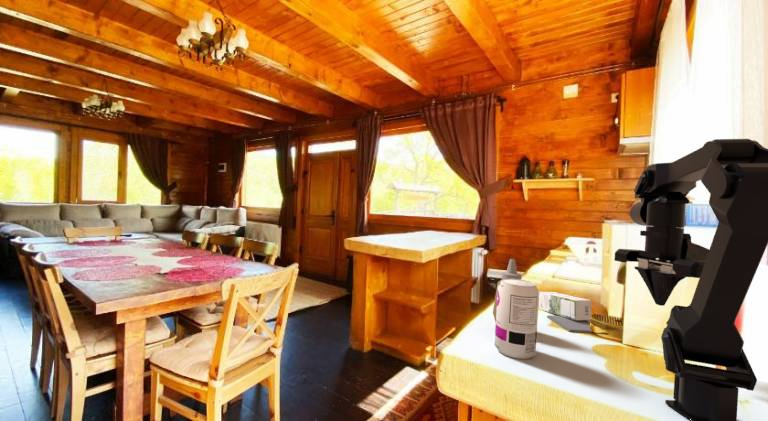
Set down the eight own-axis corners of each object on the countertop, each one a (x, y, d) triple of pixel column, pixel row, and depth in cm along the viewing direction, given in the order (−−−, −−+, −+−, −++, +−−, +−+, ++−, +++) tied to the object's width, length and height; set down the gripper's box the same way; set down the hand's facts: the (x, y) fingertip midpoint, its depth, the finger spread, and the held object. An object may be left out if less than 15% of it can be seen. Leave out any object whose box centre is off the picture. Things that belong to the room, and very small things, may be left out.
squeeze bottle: (485, 325, 84) (489, 257, 84) (507, 322, 88) (511, 256, 88) (509, 336, 77) (513, 262, 77) (532, 333, 81) (536, 261, 80)
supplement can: (487, 350, 69) (491, 280, 69) (504, 340, 75) (508, 276, 75) (526, 364, 63) (530, 288, 63) (541, 353, 69) (545, 283, 69)
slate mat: (607, 333, 83) (607, 331, 83) (569, 331, 83) (569, 329, 83) (580, 319, 94) (580, 317, 94) (547, 317, 94) (547, 315, 94)
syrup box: (591, 299, 91) (553, 291, 105) (574, 299, 89) (537, 291, 103) (592, 320, 90) (553, 309, 104) (575, 321, 89) (537, 309, 103)
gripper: (759, 232, 55) (754, 323, 55) (662, 226, 73) (658, 294, 73) (696, 229, 54) (690, 320, 55) (614, 224, 73) (610, 292, 73)
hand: (660, 305), depth 64 cm, fingers closed
